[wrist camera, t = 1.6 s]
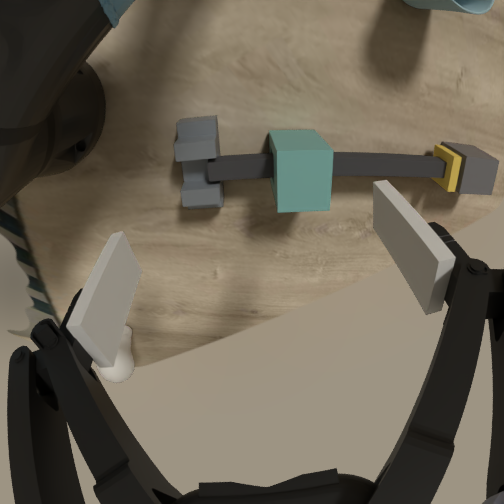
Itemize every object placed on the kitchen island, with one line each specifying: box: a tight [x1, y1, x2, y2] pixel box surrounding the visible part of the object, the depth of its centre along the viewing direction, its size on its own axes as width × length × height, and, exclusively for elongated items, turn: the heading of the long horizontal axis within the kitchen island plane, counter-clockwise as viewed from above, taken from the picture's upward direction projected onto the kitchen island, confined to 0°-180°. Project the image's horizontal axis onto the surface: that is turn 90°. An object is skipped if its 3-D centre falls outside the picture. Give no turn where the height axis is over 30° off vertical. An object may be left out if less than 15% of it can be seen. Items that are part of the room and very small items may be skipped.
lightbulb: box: [97, 325, 134, 383], centre depth 46 cm, size 6×6×11 cm
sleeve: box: [269, 130, 333, 213], centre depth 31 cm, size 5×6×8 cm
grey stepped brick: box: [174, 115, 224, 209], centre depth 33 cm, size 4×10×5 cm, turn 2°
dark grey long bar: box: [207, 145, 462, 192], centre depth 32 cm, size 34×4×4 cm, turn 93°
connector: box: [442, 142, 499, 195], centre depth 33 cm, size 6×5×6 cm
